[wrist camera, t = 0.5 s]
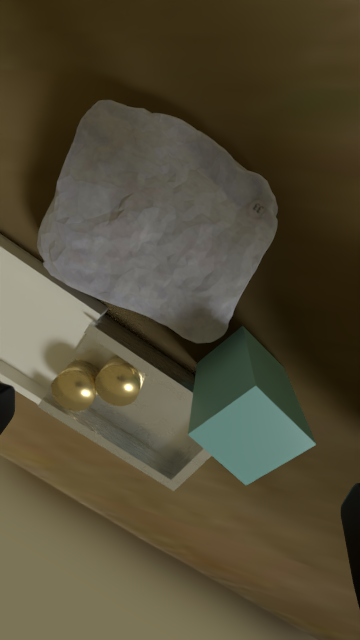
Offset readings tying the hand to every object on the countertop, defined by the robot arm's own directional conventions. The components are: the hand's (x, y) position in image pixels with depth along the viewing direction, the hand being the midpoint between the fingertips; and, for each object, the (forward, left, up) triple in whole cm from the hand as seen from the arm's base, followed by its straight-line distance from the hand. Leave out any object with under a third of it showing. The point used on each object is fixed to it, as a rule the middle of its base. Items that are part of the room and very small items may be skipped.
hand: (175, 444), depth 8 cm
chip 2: (+1, +7, -12) cm, 14 cm away
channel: (-1, +9, -12) cm, 15 cm away
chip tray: (+11, +9, -12) cm, 19 cm away
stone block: (+4, -3, -13) cm, 14 cm away
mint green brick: (-5, +2, -12) cm, 13 cm away
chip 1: (+3, +10, -12) cm, 16 cm away
